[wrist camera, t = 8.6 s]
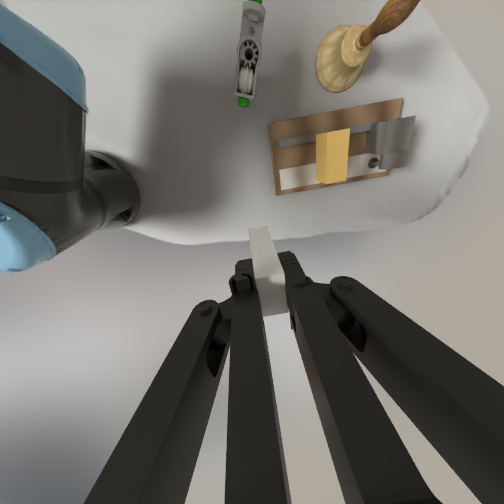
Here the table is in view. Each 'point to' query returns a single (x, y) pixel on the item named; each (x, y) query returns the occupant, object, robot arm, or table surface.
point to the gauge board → (360, 144)
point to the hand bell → (355, 45)
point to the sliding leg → (332, 156)
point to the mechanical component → (249, 51)
